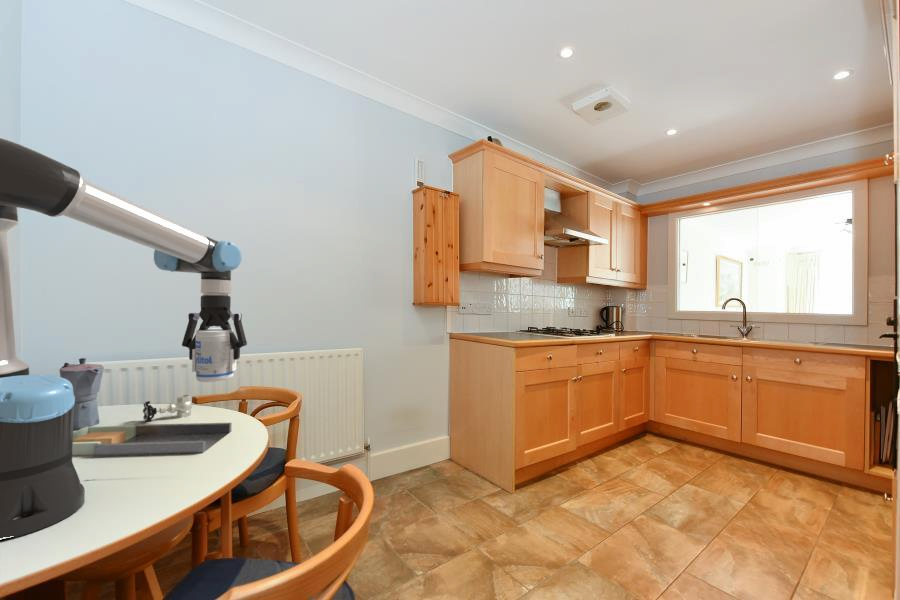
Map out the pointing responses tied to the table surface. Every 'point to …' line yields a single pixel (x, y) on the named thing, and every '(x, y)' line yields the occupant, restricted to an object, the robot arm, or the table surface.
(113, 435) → the orange flat block
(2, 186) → the robot arm
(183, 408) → the valve
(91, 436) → the chip
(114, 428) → the tray
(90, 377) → the moka pot
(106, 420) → the table surface
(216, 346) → the supplement tub
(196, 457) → the table surface
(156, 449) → the tray
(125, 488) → the table surface
